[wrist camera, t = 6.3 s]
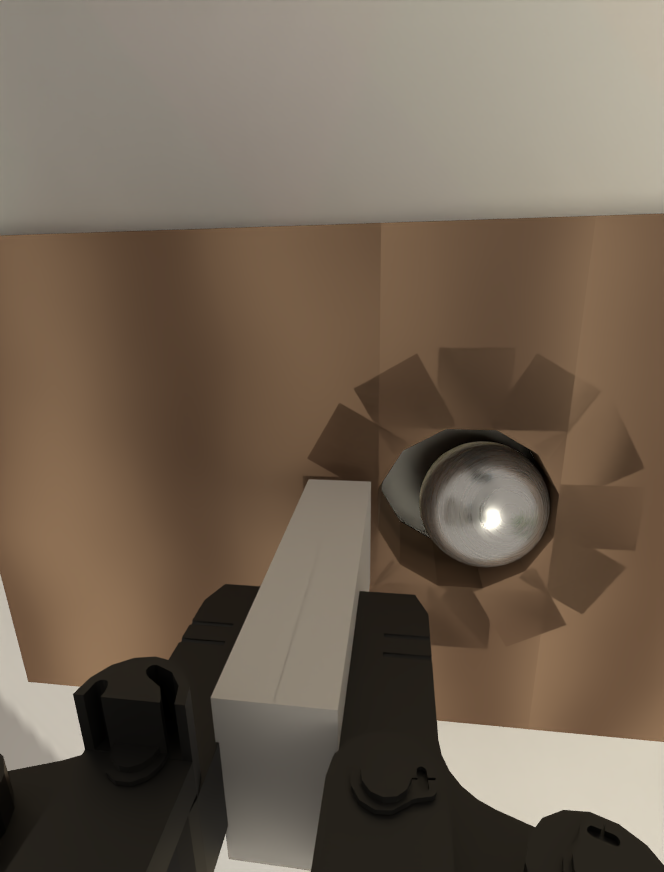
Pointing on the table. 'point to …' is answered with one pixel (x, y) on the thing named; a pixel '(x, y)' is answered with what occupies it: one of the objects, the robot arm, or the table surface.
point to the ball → (484, 504)
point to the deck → (341, 440)
